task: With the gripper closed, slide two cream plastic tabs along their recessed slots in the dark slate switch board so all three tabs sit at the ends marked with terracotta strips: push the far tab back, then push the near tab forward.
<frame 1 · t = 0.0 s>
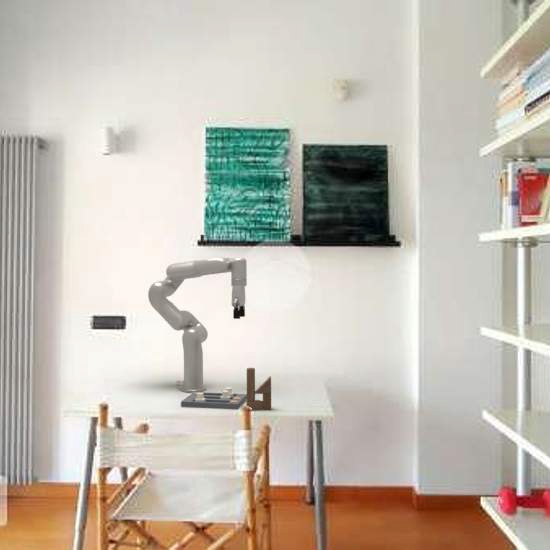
hand: (239, 317, 276), 37 cm above the table, tool pointing down, fingers open, 9 cm apart
brown notched upright part: (258, 409, 245), on the table
switch board: (214, 402, 256), on the table
tab far: (228, 392, 260), point 3 cm above the table, slide at 5.0 cm
tab mid: (225, 396, 255), point 3 cm above the table, slide at 5.0 cm
tab near: (200, 398, 250), point 3 cm above the table, slide at -5.0 cm
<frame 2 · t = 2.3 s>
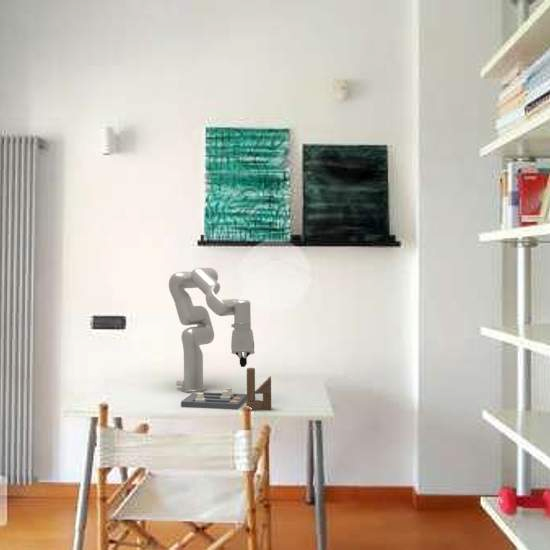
hand: (243, 366, 259), 16 cm above the table, tool pointing down, fingers closed
nothing on the table moved.
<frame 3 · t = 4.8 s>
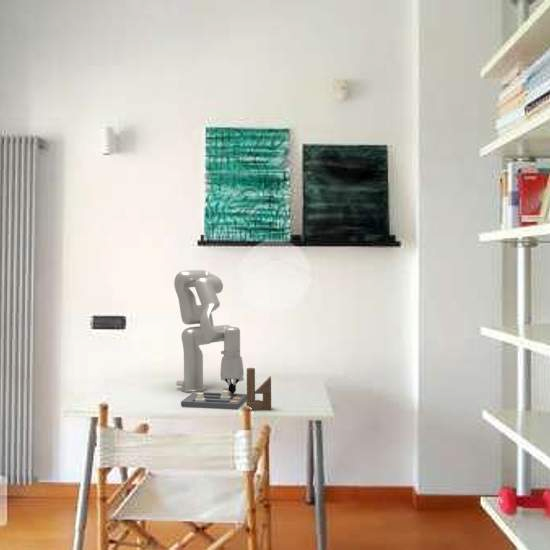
hand: (232, 392, 260), 3 cm above the table, tool pointing down, fingers closed
tab far: (225, 392, 261), point 3 cm above the table, slide at 3.4 cm, touching gripper
everything else where it was.
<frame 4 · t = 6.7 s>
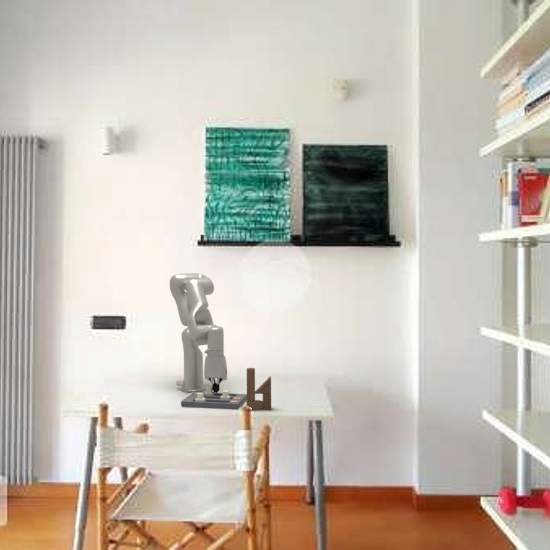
hand: (215, 392, 262), 3 cm above the table, tool pointing down, fingers closed
tab far: (209, 392, 262), point 3 cm above the table, slide at -4.4 cm, touching gripper
everything else where it was.
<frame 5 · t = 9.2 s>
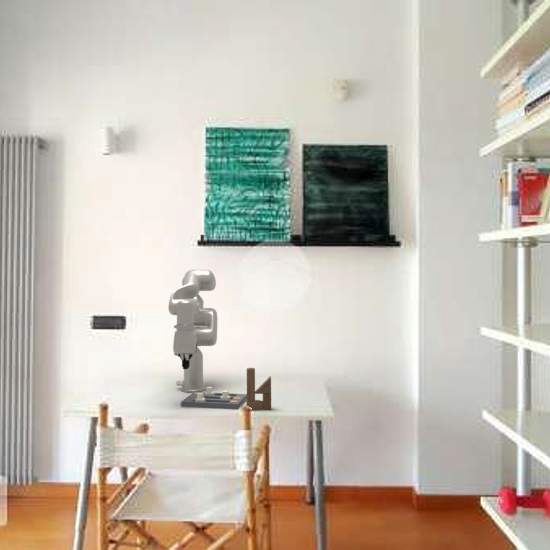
hand: (185, 368, 251), 17 cm above the table, tool pointing down, fingers closed
tab far: (209, 392, 262), point 3 cm above the table, slide at -4.4 cm
everything else where it was.
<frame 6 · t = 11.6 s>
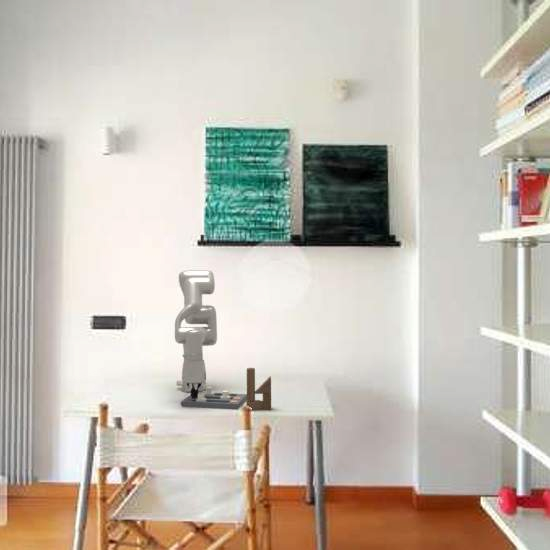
hand: (194, 397, 251), 4 cm above the table, tool pointing down, fingers closed
tab near: (201, 398, 250), point 3 cm above the table, slide at -4.6 cm, touching gripper
everything else where it was.
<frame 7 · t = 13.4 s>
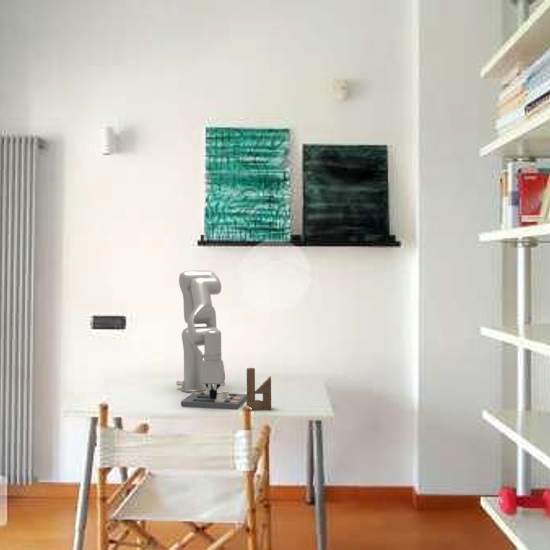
hand: (213, 398, 249), 4 cm above the table, tool pointing down, fingers closed
tab near: (220, 399, 249), point 3 cm above the table, slide at 4.2 cm, touching gripper
everything else where it was.
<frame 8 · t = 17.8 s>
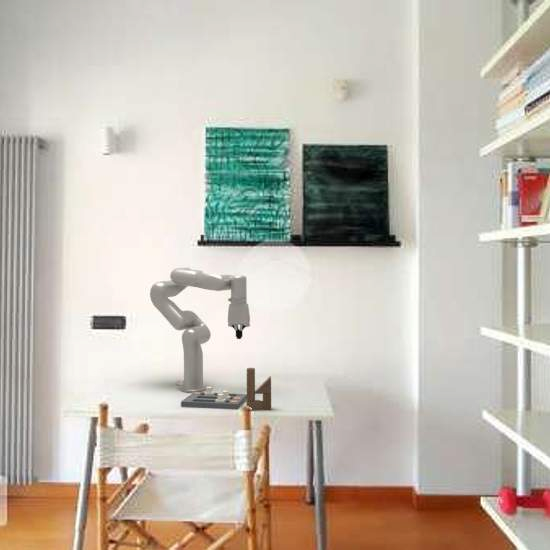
hand: (239, 338, 271), 27 cm above the table, tool pointing down, fingers closed
tab near: (220, 399, 249), point 3 cm above the table, slide at 4.4 cm
everything else where it was.
at the end: tab near slide at 4.4 cm; tab far slide at -4.4 cm; tab mid slide at 5.0 cm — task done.
